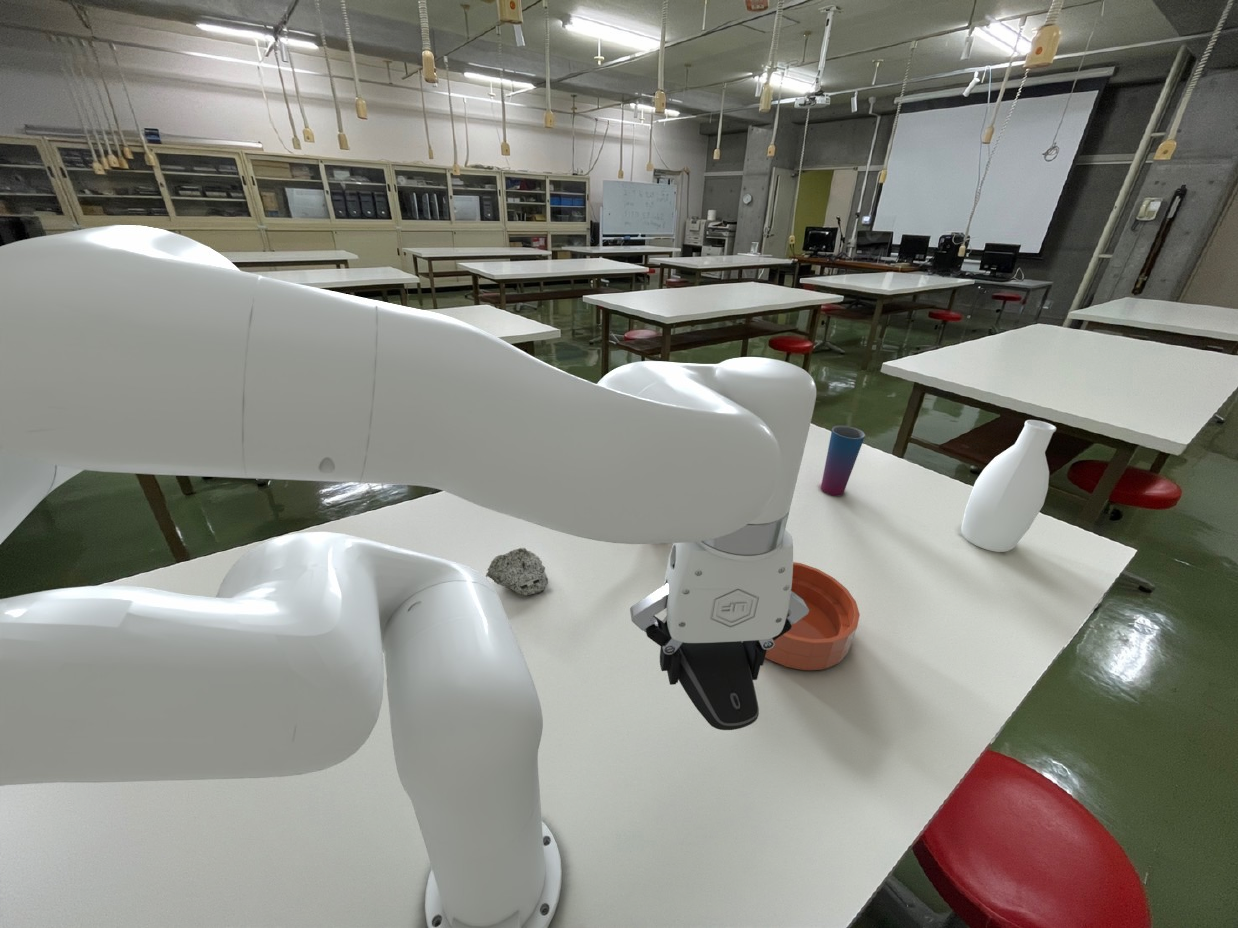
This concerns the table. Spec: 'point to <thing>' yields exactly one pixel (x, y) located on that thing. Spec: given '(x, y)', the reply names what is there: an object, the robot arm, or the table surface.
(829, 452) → the cup
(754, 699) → the computer mouse
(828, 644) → the bowl
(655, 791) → the table surface
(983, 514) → the bottle
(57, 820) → the table surface
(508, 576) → the rock sample
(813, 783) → the table surface
